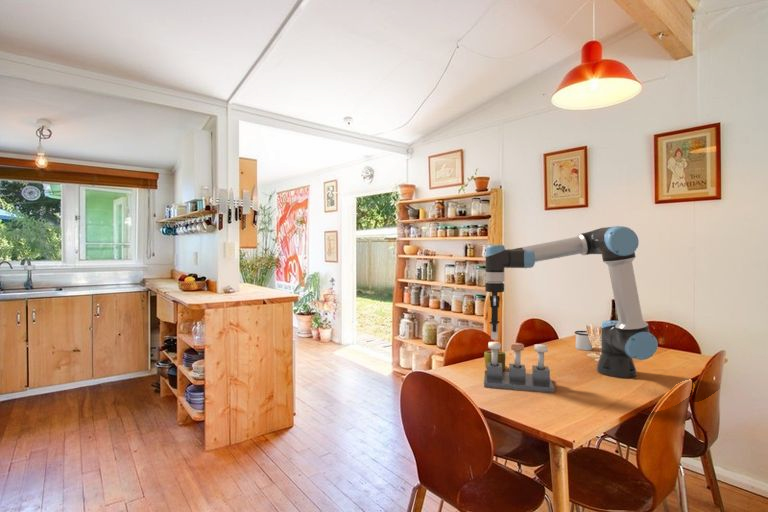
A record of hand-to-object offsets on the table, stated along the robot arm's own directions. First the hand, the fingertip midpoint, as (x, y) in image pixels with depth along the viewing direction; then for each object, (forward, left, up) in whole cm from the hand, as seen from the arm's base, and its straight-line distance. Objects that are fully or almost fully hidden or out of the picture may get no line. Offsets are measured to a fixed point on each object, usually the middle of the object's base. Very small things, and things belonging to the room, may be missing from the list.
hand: (494, 339), depth 167 cm
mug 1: (0, -19, -18) cm, 26 cm away
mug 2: (-48, -69, -18) cm, 86 cm away
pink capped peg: (-9, 0, -12) cm, 15 cm away
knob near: (-18, 0, -12) cm, 21 cm away
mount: (-9, 0, -18) cm, 20 cm away
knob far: (0, 0, -12) cm, 12 cm away
